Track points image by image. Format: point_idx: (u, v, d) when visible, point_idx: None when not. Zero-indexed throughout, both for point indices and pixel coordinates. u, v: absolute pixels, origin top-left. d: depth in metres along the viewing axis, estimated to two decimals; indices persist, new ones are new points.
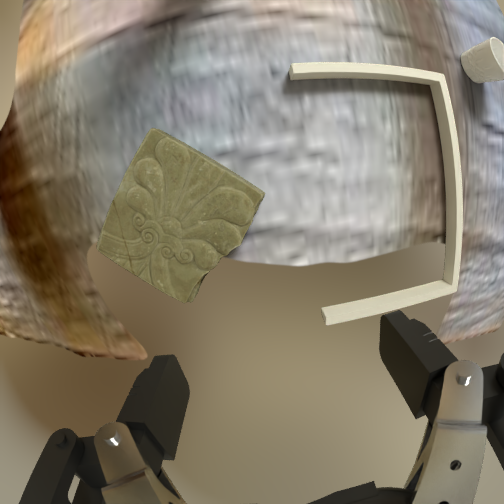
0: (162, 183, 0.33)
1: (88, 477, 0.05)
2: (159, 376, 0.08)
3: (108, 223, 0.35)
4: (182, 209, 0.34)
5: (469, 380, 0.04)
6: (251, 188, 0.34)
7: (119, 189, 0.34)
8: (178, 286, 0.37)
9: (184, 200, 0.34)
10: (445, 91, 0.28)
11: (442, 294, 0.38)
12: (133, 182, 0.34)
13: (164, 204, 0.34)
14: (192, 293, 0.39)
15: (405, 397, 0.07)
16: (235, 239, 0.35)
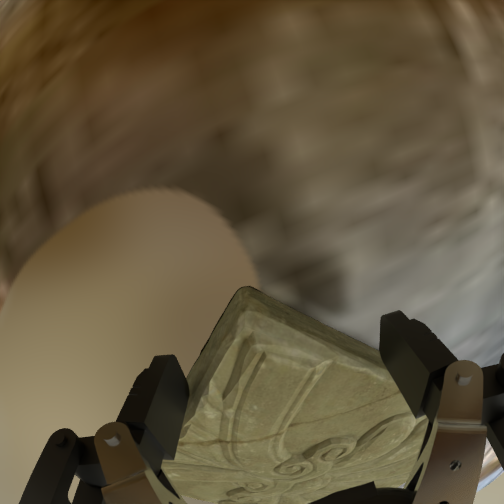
0: (395, 461, 0.11)
1: (88, 477, 0.05)
2: (159, 376, 0.08)
3: (349, 381, 0.09)
4: (338, 490, 0.12)
5: (469, 380, 0.04)
6: None
7: None
8: None
9: None
10: None
11: None
12: (425, 415, 0.10)
13: (355, 473, 0.12)
14: None
15: (405, 397, 0.07)
16: None
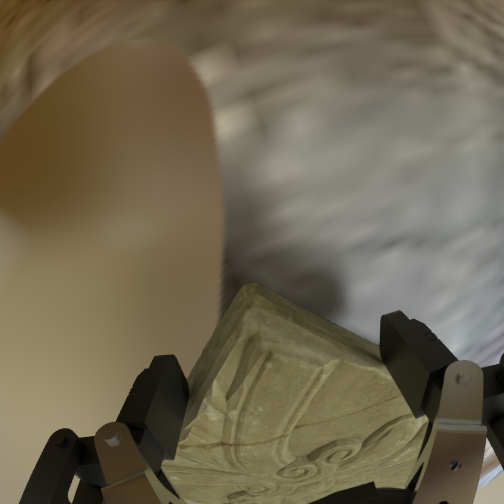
0: (399, 463, 0.11)
1: (88, 477, 0.05)
2: (159, 376, 0.08)
3: (357, 381, 0.09)
4: None
5: (469, 380, 0.04)
6: None
7: None
8: None
9: None
10: None
11: None
12: None
13: (359, 475, 0.11)
14: None
15: (405, 397, 0.07)
16: None
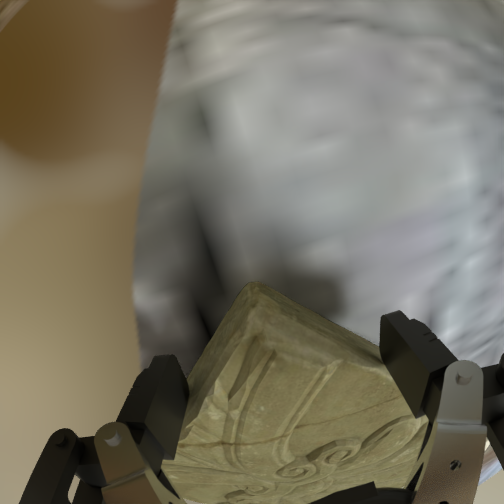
0: (397, 464, 0.11)
1: (88, 477, 0.05)
2: (159, 376, 0.08)
3: (359, 381, 0.09)
4: None
5: (469, 380, 0.04)
6: None
7: None
8: None
9: None
10: None
11: None
12: None
13: (357, 476, 0.11)
14: None
15: (405, 397, 0.07)
16: None
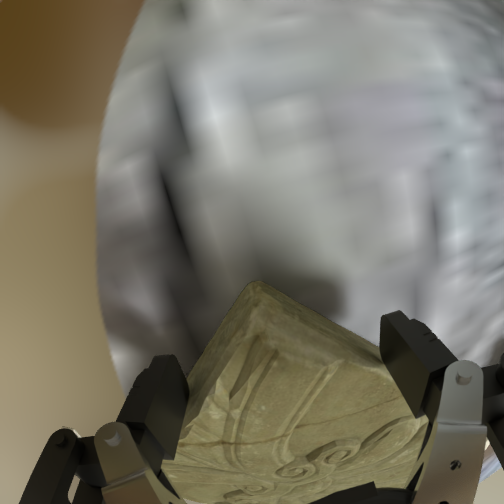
0: (396, 465, 0.11)
1: (88, 477, 0.05)
2: (159, 376, 0.08)
3: (359, 381, 0.09)
4: None
5: (469, 380, 0.04)
6: None
7: None
8: None
9: None
10: None
11: None
12: None
13: (356, 476, 0.11)
14: None
15: (405, 397, 0.07)
16: None
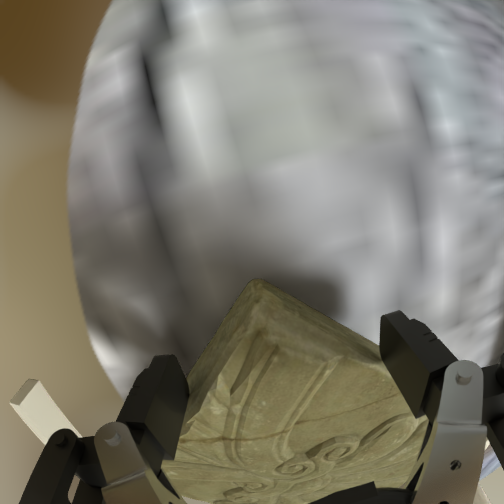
0: (395, 463, 0.11)
1: (88, 477, 0.05)
2: (159, 376, 0.08)
3: (359, 377, 0.09)
4: None
5: (469, 380, 0.04)
6: None
7: None
8: None
9: None
10: None
11: None
12: None
13: (355, 474, 0.11)
14: None
15: (405, 397, 0.07)
16: None
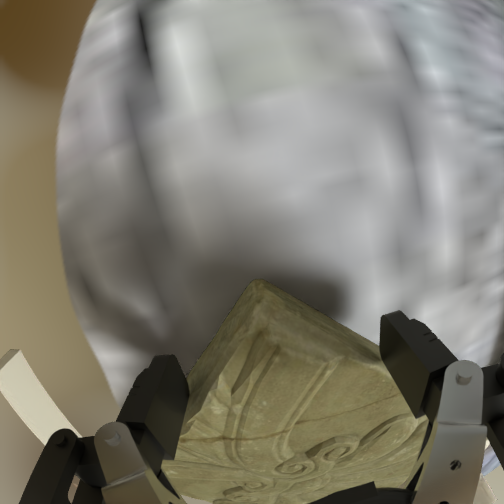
0: (394, 463, 0.11)
1: (88, 477, 0.05)
2: (159, 376, 0.08)
3: (359, 378, 0.09)
4: (336, 491, 0.12)
5: (469, 380, 0.04)
6: None
7: None
8: None
9: None
10: None
11: None
12: None
13: (354, 474, 0.11)
14: None
15: (405, 397, 0.07)
16: None
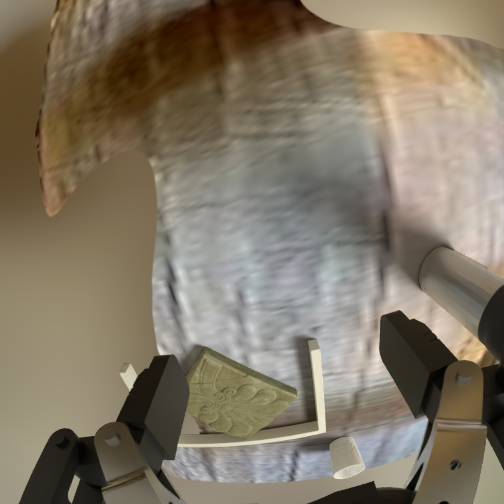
0: (256, 405, 0.46)
1: (88, 477, 0.05)
2: (159, 376, 0.08)
3: (228, 370, 0.43)
4: (238, 413, 0.46)
5: (469, 380, 0.04)
6: (250, 435, 0.49)
7: (255, 380, 0.44)
8: None
9: (244, 414, 0.46)
10: (312, 433, 0.49)
11: None
12: (260, 388, 0.45)
13: (241, 405, 0.46)
14: None
15: (405, 397, 0.07)
16: (220, 430, 0.48)
